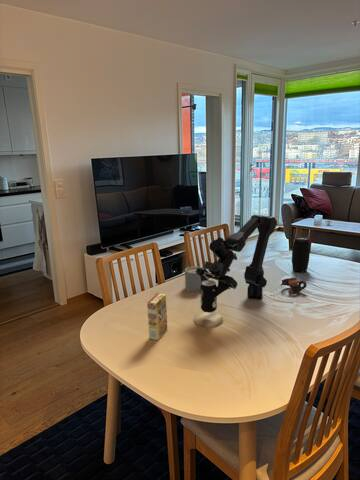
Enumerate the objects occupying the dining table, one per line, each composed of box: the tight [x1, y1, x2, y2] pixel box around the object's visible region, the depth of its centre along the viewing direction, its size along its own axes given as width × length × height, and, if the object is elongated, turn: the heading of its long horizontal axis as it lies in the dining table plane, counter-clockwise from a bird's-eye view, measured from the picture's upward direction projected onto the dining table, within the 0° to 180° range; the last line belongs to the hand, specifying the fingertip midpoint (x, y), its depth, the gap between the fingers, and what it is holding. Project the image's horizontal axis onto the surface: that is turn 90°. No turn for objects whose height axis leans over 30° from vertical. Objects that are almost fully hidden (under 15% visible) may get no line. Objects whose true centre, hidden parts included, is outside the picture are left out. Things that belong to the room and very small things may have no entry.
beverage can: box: [200, 279, 218, 313], centre depth 147 cm, size 7×7×12 cm
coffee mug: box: [184, 266, 203, 293], centre depth 184 cm, size 13×10×10 cm
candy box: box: [146, 293, 168, 341], centre depth 138 cm, size 9×4×15 cm, turn 158°
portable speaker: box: [291, 235, 311, 274], centre depth 203 cm, size 9×9×20 cm
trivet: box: [193, 311, 224, 328], centre depth 150 cm, size 12×12×1 cm
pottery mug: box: [280, 277, 307, 296], centre depth 177 cm, size 12×10×8 cm
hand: (206, 295), depth 146 cm, fingers closed on beverage can, 6 cm apart
